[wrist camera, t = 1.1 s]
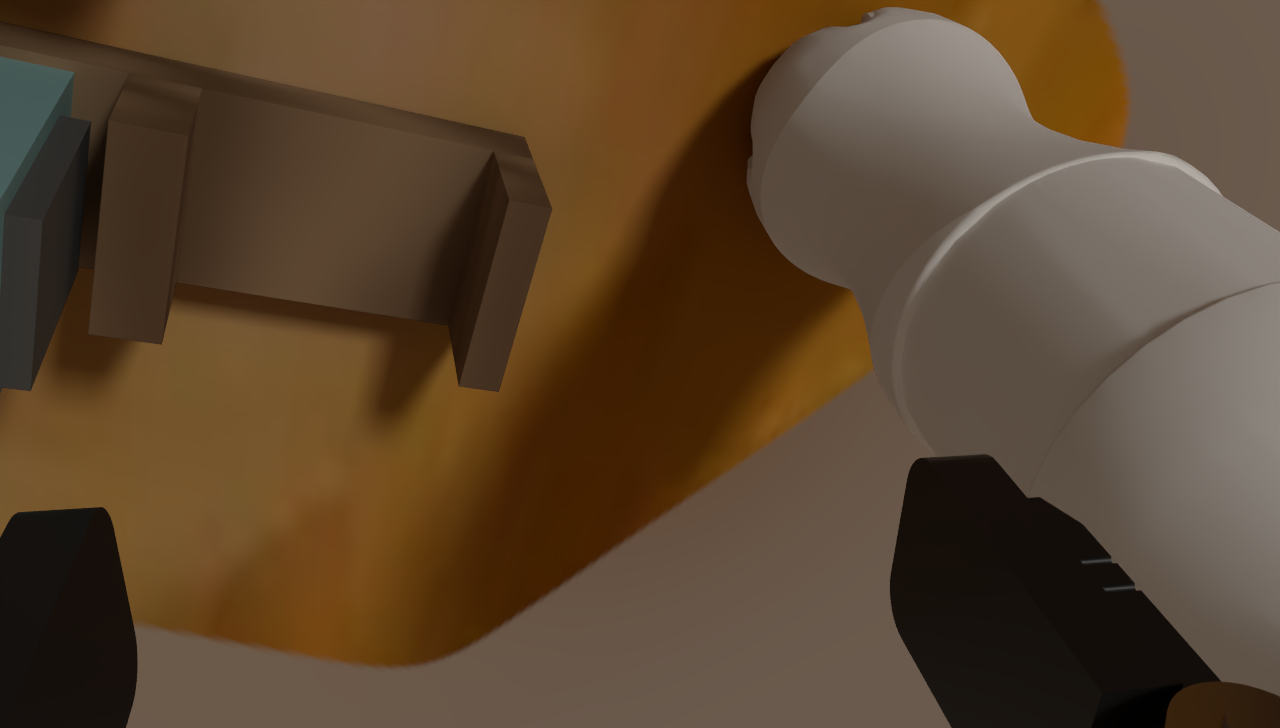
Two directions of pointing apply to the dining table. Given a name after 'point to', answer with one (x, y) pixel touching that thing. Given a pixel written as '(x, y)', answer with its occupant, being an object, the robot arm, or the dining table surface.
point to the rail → (293, 200)
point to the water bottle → (1046, 308)
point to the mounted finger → (37, 211)
